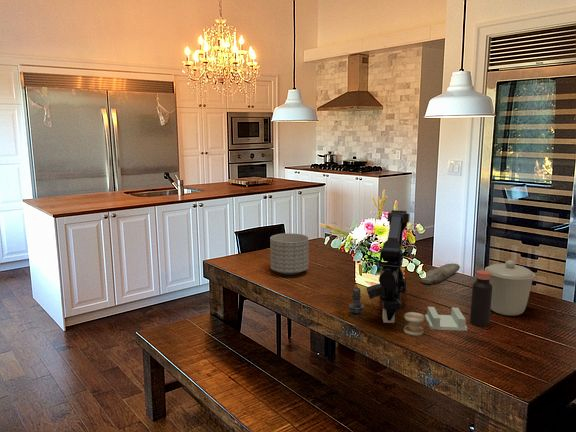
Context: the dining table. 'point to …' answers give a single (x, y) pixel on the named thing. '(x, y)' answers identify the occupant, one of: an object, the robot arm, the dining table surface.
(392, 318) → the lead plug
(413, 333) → the bobbin
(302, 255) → the planter
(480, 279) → the bottle
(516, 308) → the canister
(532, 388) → the dining table surface
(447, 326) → the notch board
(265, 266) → the dining table surface
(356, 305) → the flange bolt
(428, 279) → the long grey stone
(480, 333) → the dining table surface
